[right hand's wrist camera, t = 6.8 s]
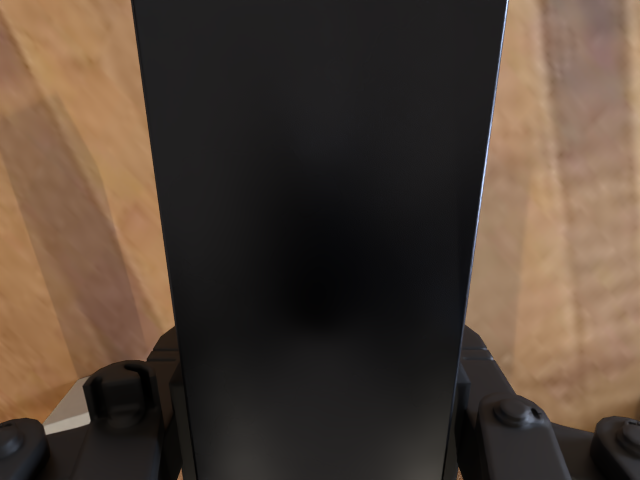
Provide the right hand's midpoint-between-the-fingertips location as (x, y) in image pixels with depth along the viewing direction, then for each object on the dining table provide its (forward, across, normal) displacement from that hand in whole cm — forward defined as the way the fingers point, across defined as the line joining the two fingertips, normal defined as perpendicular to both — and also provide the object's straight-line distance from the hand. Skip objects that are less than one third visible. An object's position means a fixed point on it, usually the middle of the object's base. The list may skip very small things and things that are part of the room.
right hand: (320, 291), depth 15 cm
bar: (0, 0, -10) cm, 10 cm away
